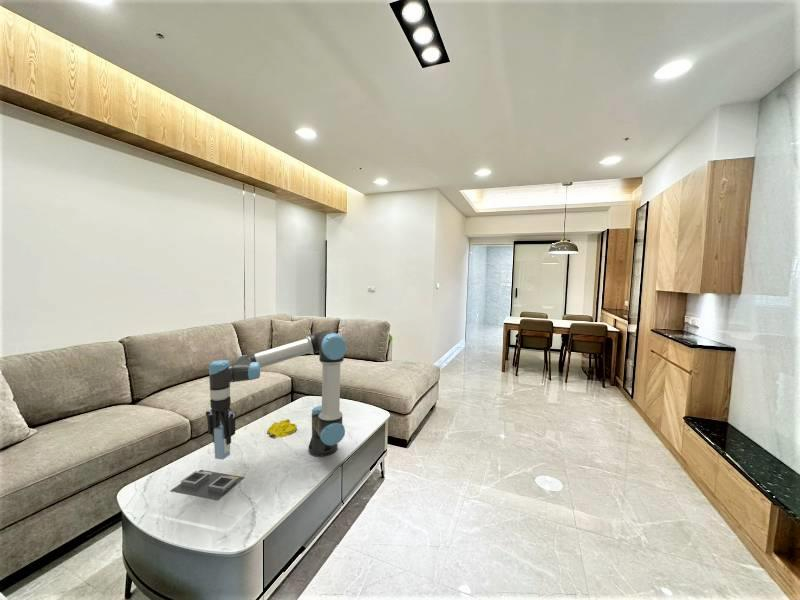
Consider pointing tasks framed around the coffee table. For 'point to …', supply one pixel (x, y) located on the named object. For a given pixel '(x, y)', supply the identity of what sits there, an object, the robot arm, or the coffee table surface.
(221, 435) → the plug
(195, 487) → the panel
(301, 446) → the coffee table surface
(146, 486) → the coffee table surface
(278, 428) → the door knocker
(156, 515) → the coffee table surface
